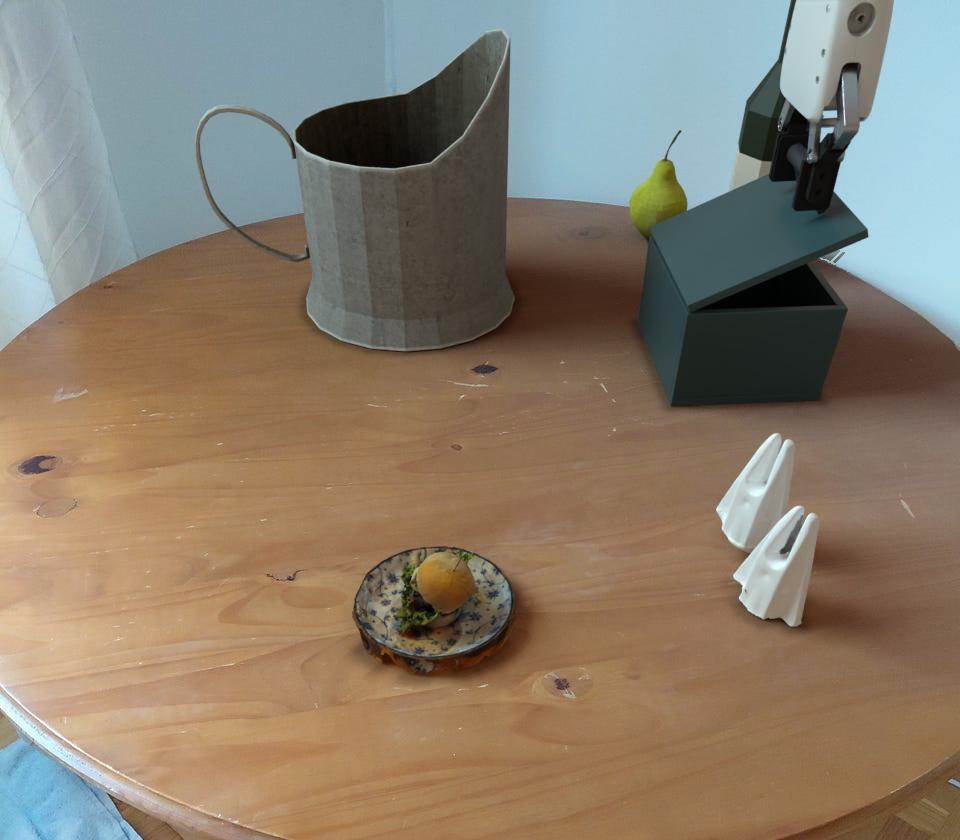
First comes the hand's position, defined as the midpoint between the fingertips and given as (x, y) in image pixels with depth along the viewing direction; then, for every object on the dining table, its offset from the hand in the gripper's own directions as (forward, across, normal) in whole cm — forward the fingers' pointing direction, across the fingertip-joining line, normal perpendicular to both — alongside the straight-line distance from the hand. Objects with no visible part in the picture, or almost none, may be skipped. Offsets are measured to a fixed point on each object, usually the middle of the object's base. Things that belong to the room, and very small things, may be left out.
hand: (797, 192), depth 80 cm
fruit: (+16, +30, +5) cm, 35 cm away
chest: (+16, 0, +4) cm, 17 cm away
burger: (+16, -35, +35) cm, 52 cm away
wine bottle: (+16, +22, -5) cm, 28 cm away
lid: (+4, 0, +4) cm, 5 cm away
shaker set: (+16, -32, +10) cm, 37 cm away
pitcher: (+15, +15, +40) cm, 45 cm away
